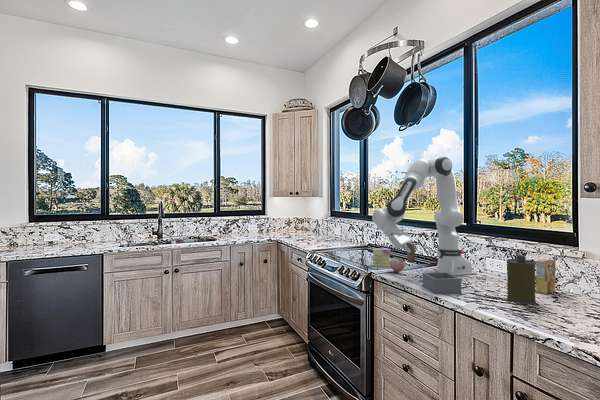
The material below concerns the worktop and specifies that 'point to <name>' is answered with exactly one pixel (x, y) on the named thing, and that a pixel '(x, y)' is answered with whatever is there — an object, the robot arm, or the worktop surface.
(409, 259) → the walnut peg
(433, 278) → the socket box
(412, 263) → the fork
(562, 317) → the worktop surface
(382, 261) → the box
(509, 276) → the canister
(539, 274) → the candy box
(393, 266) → the decorative fruit
